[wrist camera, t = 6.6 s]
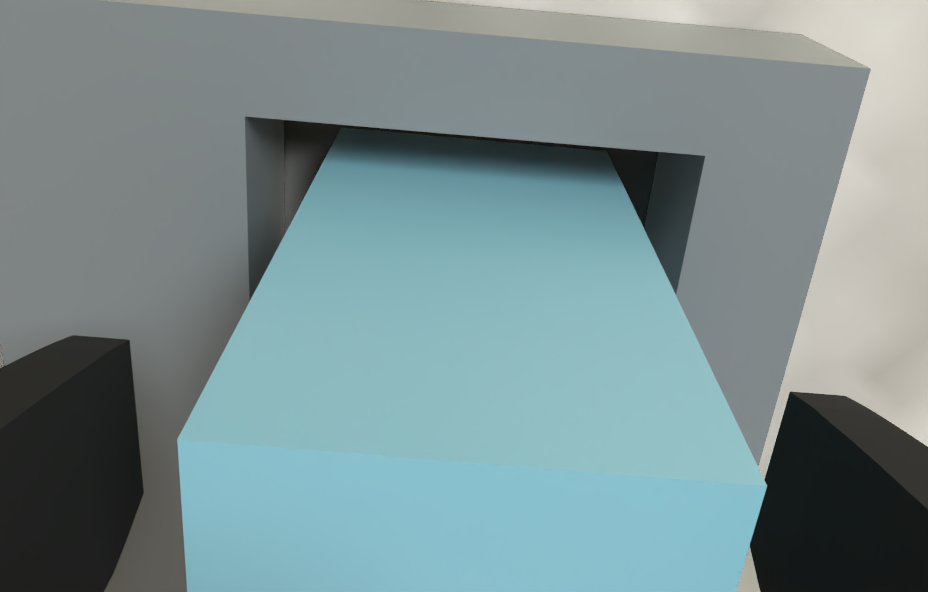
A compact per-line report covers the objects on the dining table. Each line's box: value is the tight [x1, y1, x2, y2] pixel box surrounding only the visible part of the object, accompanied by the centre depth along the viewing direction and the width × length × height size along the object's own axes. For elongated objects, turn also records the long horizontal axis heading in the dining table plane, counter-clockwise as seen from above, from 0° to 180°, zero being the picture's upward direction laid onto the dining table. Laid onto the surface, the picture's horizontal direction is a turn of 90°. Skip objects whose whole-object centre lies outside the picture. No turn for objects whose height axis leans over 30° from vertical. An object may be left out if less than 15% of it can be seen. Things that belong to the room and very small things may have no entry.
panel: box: [0, 0, 870, 592], centre depth 14 cm, size 18×15×2 cm
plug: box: [177, 127, 767, 592], centre depth 11 cm, size 4×5×8 cm
